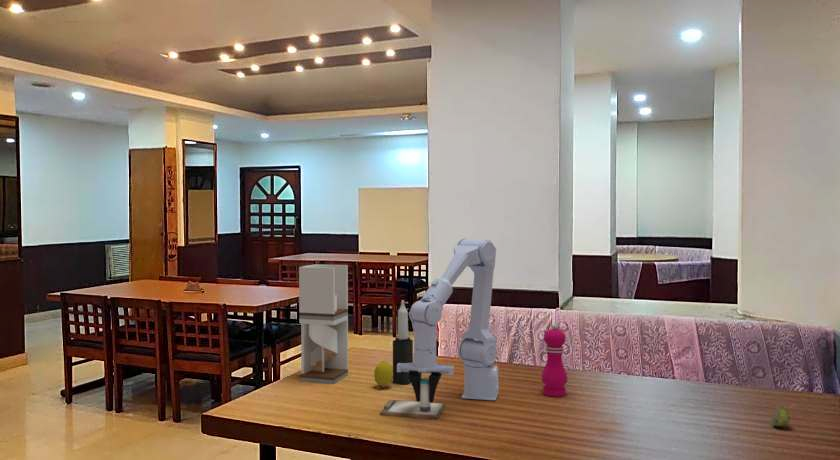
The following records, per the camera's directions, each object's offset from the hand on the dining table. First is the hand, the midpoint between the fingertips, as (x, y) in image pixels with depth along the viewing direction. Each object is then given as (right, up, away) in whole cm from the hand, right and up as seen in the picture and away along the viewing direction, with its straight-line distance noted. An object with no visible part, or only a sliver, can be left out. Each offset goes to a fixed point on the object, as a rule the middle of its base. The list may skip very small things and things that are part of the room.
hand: (425, 401), depth 158 cm
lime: (+85, -4, -10) cm, 86 cm away
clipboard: (-3, -3, +3) cm, 5 cm away
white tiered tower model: (-31, -3, +34) cm, 46 cm away
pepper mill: (+37, -3, +17) cm, 41 cm away
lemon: (-12, -3, +24) cm, 27 cm away
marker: (0, -2, 0) cm, 2 cm away
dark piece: (-6, -3, +30) cm, 31 cm away
